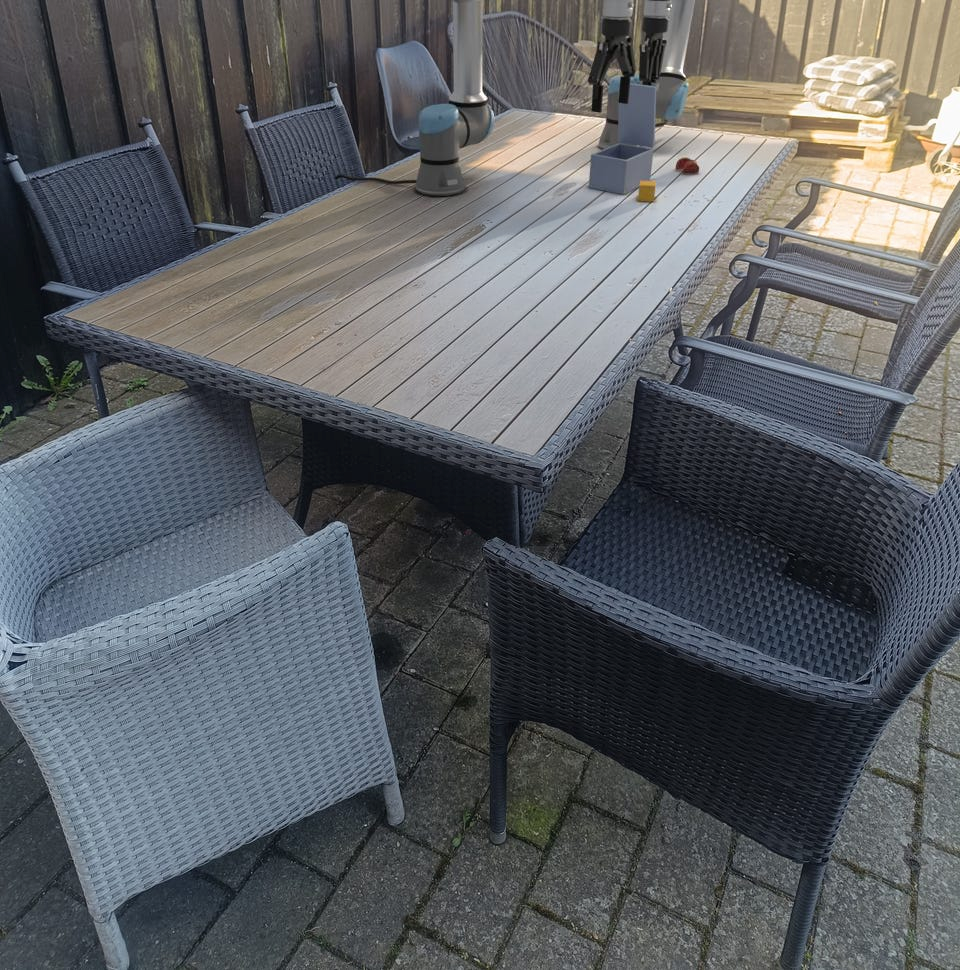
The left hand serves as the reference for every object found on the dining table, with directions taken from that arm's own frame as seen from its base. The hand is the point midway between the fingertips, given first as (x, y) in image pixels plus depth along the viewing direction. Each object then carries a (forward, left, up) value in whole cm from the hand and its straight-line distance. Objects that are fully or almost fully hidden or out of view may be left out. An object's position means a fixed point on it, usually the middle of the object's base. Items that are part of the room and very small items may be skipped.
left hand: (610, 107), depth 226 cm
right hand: (-10, +38, -6) cm, 40 cm away
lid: (-9, +32, -9) cm, 34 cm away
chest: (-9, +25, -28) cm, 38 cm away
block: (+5, +17, -28) cm, 33 cm away
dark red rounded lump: (+1, +51, -28) cm, 58 cm away
